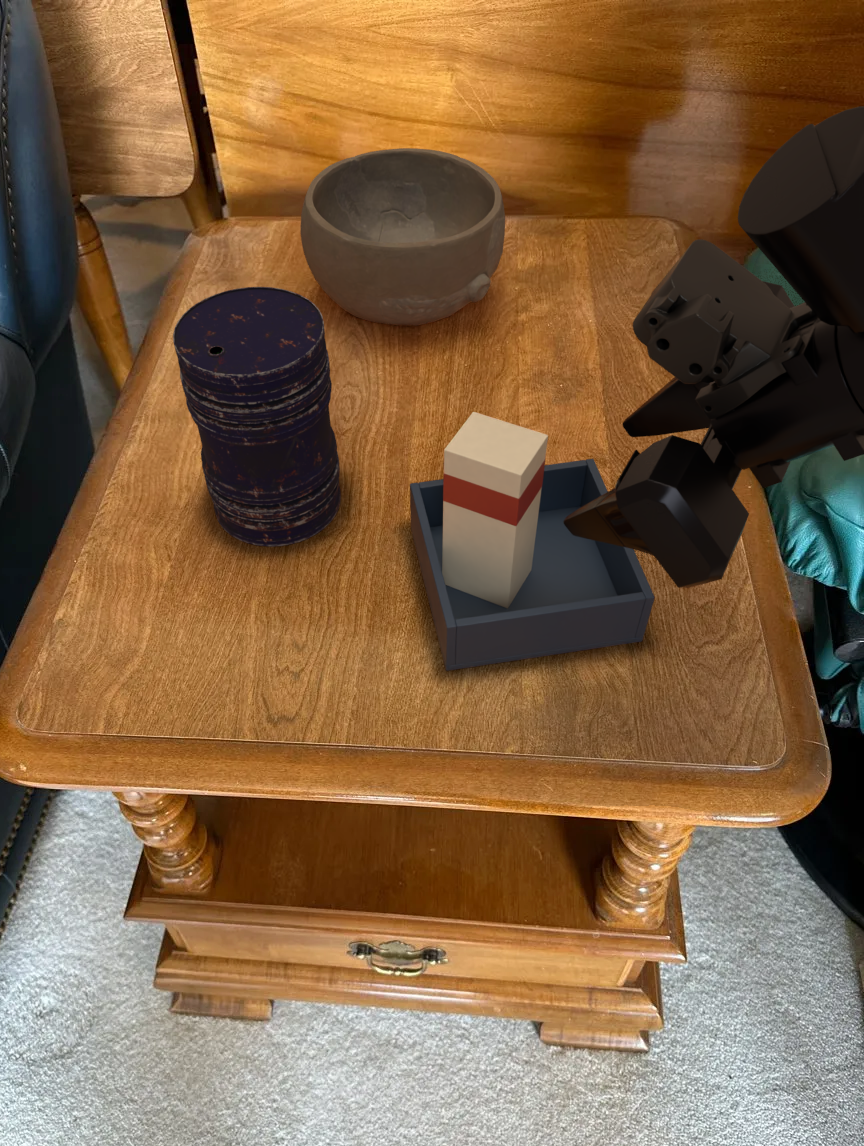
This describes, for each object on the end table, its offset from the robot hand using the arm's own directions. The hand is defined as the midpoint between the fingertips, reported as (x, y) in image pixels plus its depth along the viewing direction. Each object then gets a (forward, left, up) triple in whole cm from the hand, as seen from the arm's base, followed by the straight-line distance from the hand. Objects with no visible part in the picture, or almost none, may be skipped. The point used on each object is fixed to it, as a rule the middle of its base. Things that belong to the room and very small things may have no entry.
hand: (598, 476), depth 55 cm
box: (+3, -4, -12) cm, 13 cm away
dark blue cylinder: (+19, -15, -13) cm, 27 cm away
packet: (+5, -4, -12) cm, 14 cm away
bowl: (+5, -40, -13) cm, 42 cm away
